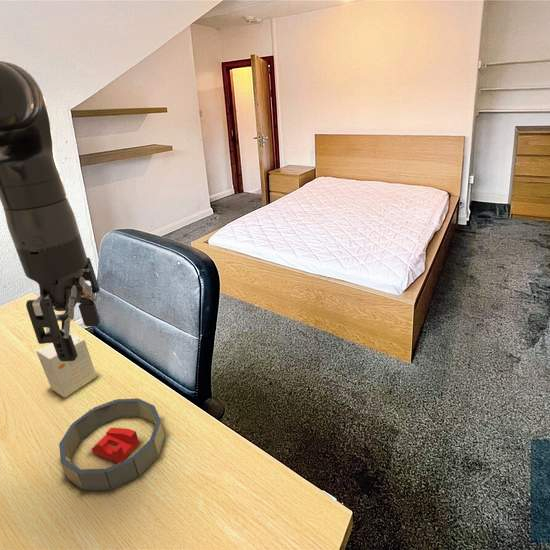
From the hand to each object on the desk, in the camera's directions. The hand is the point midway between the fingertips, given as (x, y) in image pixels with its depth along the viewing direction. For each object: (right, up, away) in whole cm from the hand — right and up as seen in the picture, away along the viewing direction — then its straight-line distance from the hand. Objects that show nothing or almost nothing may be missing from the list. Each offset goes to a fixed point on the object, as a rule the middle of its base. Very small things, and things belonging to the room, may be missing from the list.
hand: (81, 341), depth 59 cm
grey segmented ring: (-1, -22, +15) cm, 26 cm away
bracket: (-1, -22, +15) cm, 26 cm away
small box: (-17, -15, +32) cm, 39 cm away
